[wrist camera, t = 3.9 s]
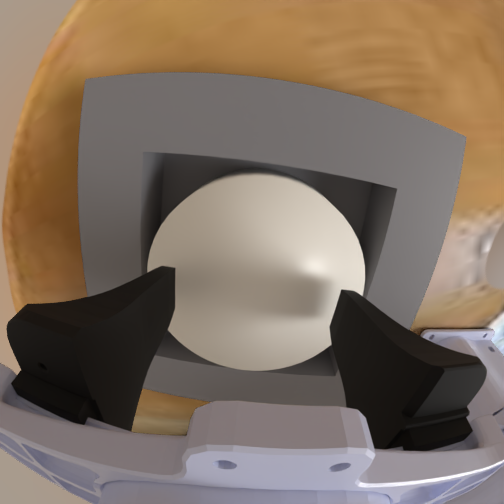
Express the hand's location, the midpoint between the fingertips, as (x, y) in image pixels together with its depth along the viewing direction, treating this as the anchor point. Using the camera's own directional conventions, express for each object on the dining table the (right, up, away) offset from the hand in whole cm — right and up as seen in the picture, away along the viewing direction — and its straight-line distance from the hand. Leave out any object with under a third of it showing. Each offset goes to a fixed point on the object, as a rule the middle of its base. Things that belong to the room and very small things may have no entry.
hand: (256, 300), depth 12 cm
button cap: (0, +1, +4) cm, 4 cm away
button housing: (0, +2, +4) cm, 5 cm away
